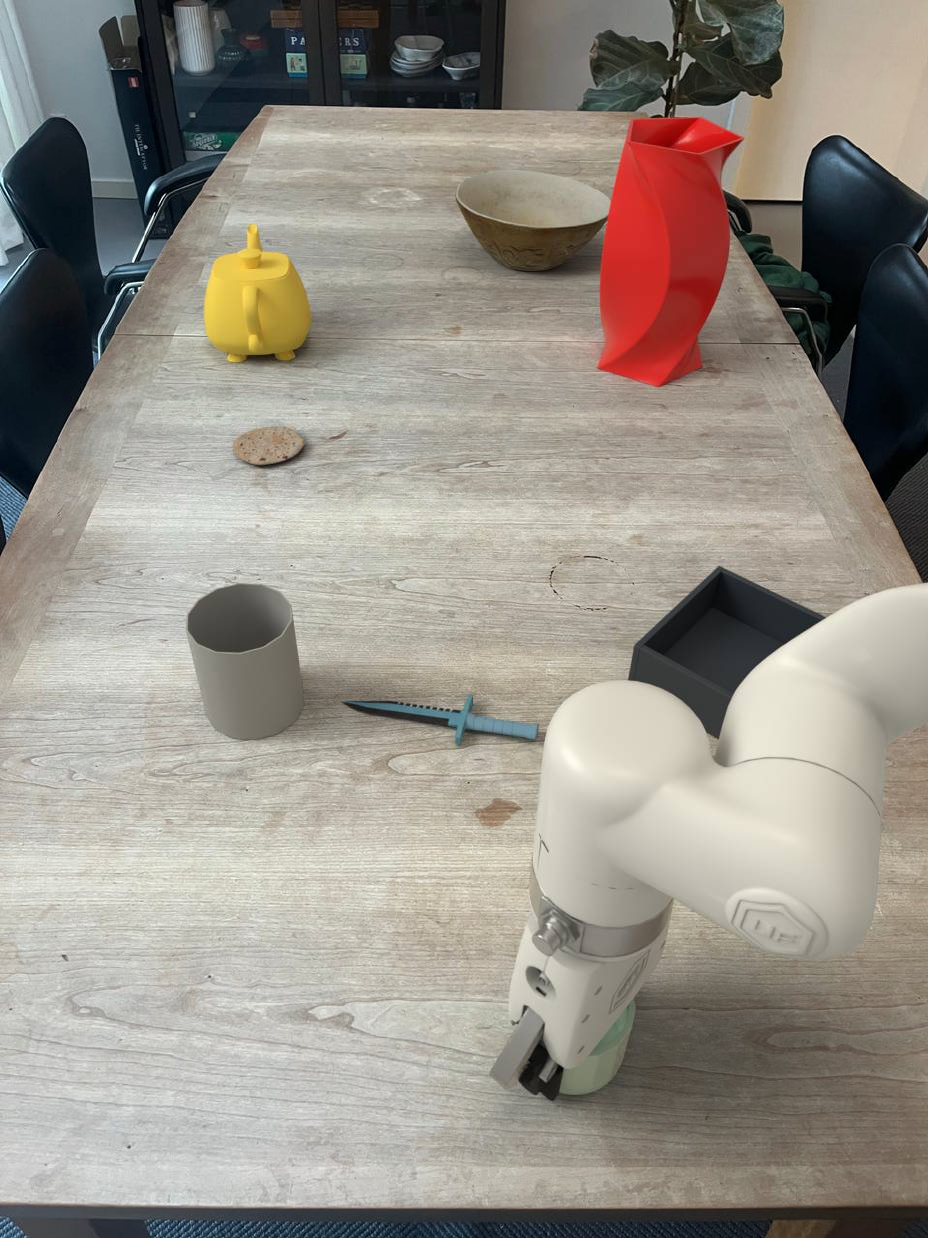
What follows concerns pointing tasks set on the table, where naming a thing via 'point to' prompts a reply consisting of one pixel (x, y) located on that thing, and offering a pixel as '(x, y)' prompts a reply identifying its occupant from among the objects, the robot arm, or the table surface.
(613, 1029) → the green tumbler
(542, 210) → the bowl
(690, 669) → the dish tub
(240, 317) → the teapot
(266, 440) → the flatbread
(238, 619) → the cup
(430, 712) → the knife
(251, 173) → the table surface
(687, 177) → the vase
